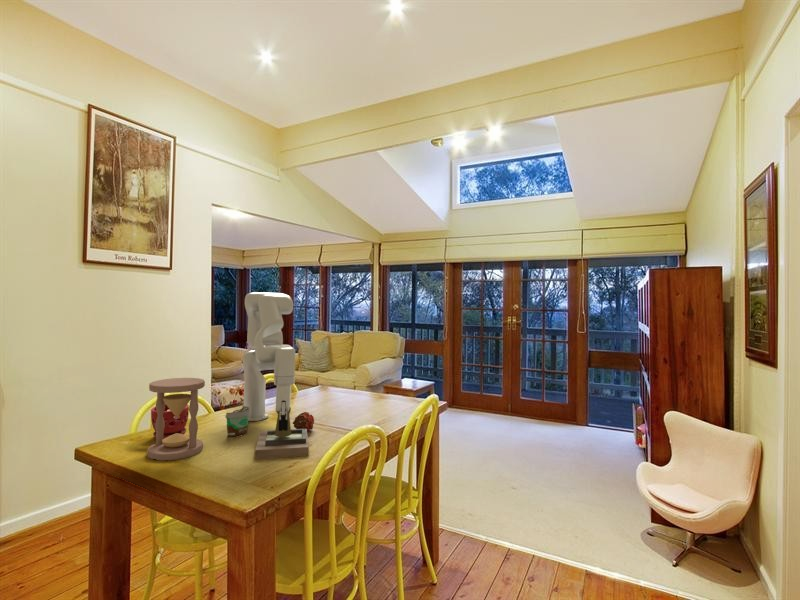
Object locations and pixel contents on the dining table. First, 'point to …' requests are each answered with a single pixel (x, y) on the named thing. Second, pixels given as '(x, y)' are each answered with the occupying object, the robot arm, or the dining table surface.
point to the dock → (282, 444)
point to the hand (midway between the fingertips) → (283, 428)
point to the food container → (237, 422)
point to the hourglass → (176, 443)
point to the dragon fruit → (304, 421)
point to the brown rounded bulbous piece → (283, 433)
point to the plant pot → (171, 421)
